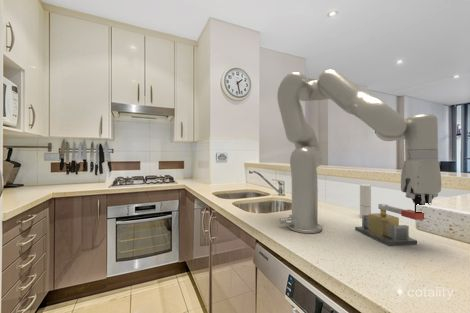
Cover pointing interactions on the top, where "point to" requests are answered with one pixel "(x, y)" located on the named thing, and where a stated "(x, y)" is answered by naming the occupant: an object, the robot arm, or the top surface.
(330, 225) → the top surface
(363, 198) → the tube
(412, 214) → the valve lever
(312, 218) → the robot arm
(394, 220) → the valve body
